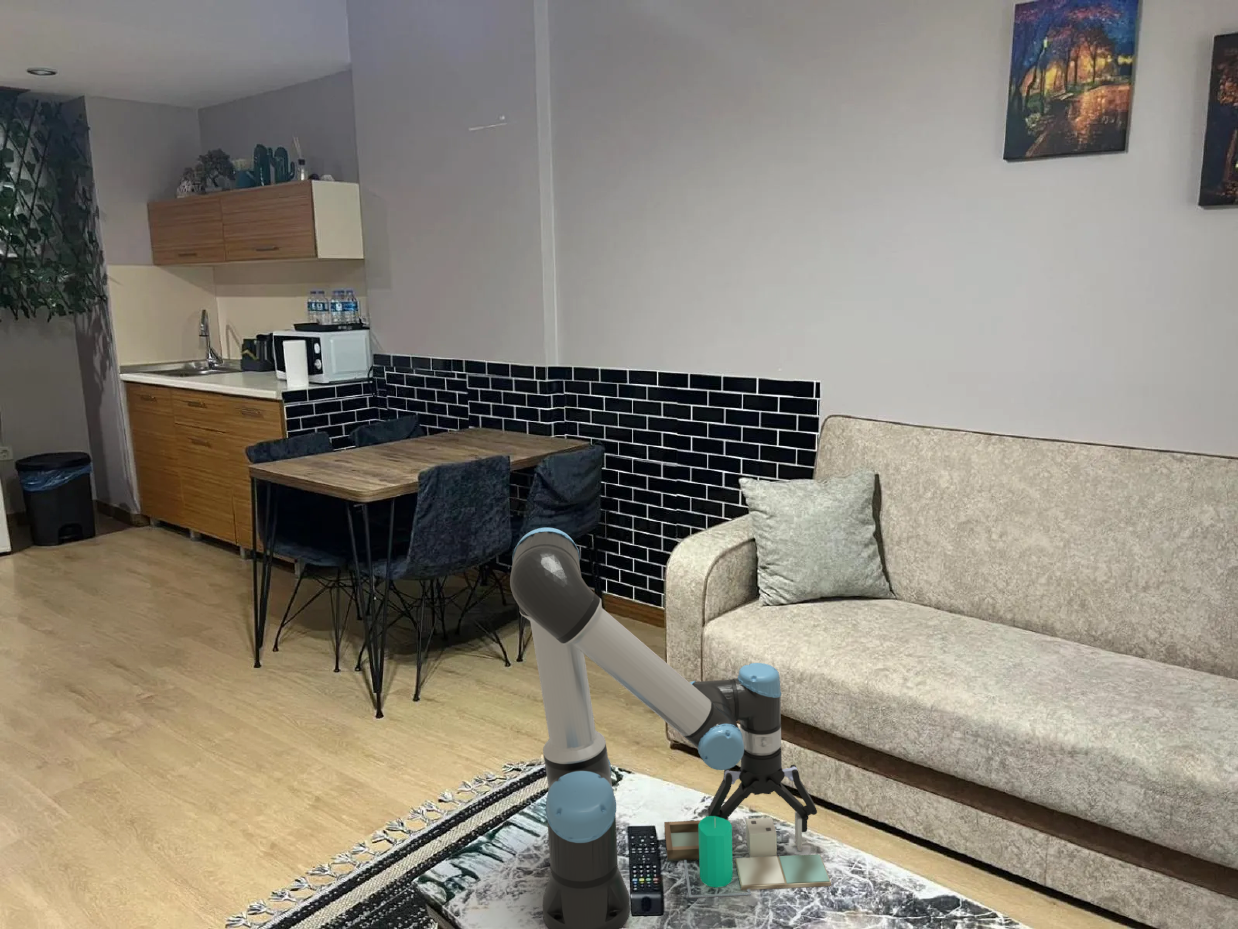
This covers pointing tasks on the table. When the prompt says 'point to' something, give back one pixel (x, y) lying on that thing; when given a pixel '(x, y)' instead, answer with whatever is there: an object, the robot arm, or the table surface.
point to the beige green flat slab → (782, 872)
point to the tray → (682, 840)
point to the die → (761, 837)
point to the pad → (711, 894)
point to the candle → (715, 851)
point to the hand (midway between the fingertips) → (762, 848)
